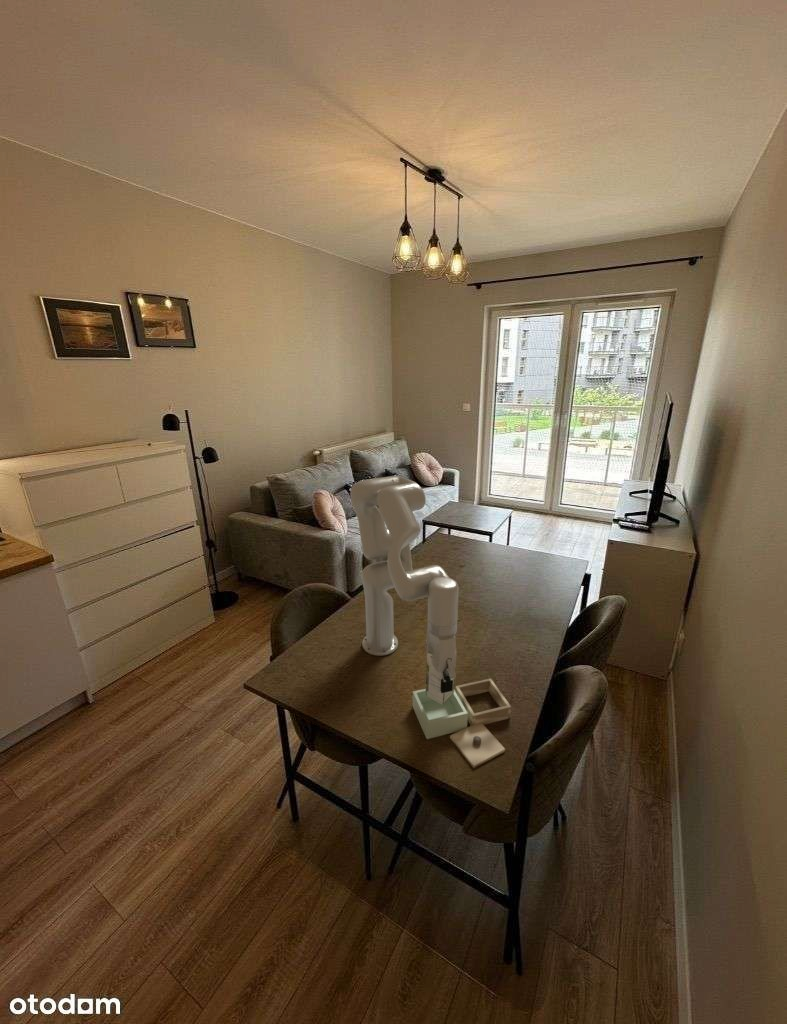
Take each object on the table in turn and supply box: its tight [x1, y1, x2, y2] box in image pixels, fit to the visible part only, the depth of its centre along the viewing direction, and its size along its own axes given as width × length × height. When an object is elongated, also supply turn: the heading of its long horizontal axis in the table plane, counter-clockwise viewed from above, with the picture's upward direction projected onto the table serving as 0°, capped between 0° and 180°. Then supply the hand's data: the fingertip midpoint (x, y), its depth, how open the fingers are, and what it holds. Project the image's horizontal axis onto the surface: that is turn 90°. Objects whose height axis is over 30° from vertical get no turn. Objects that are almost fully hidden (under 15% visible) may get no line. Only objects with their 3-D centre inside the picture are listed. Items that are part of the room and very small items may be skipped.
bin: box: [412, 688, 468, 740], centre depth 116 cm, size 12×12×6 cm
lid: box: [449, 723, 506, 769], centre depth 108 cm, size 10×10×2 cm
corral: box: [454, 678, 512, 726], centre depth 119 cm, size 12×12×4 cm
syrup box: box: [425, 650, 457, 705], centre depth 112 cm, size 6×6×14 cm
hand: (440, 680), depth 112 cm, fingers closed on syrup box, 7 cm apart
